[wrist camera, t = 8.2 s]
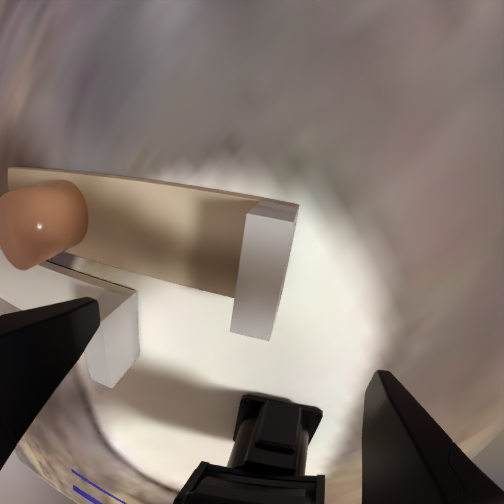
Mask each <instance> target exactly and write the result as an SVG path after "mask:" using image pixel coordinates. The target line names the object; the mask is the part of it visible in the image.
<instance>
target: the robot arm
mask: <svg viewBox="0 0 504 504" xmlns="http://www.w3.org/2000/svg"><path fill="white" fill-rule="evenodd" d="M100 322H101V319H100V310H99V303H98V301H97V300H96V299H93V298H91V297H82V298H78V299H73V300H69V301H64V302H60V303H55V304H50V305H46V306H41V307H37V308H32V309H27V310H23V311H18V312H13V313H9V314H4V315H1V316H0V470H1V469H2V467H3V465H4V464H5V462H6V461H7V459H8V458H9V456H10V455H11V453H12V452H13V450H14V449H15V447H16V446H17V444H18V442H19V441H20V439H21V438H22V436H23V435H24V433H25V432H26V431H27V429H28V428H29V426H30V425H31V423H32V422H33V420H34V419H35V418H36V416H37V415H38V413H39V412H40V411H41V409H42V408H43V406H44V405H45V404H46V402H47V401H48V400H49V398H50V397H51V395H52V394H53V393H54V391H55V390H56V389H57V387H58V386H59V385H60V383H61V382H62V381H63V379H64V378H65V377H66V375H67V374H68V373H69V371H70V370H71V369H72V368H73V366H74V365H75V364H76V362H77V361H78V360H79V358H80V357H81V355H82V354H83V352H84V350H85V349H86V347H87V345H88V344H89V342H90V341H91V339H92V338H93V336H94V334H95V333H96V331H97V330H98V328H99V326H100ZM246 400H248V401H246ZM315 414H318V415H315ZM322 416H323V412H322V410H320V409H316V408H310V407H304V406H299V405H294V404H289V403H284V402H279V401H274V400H269V399H265V398H260V397H256V396H252V395H243V396H242V398H241V401H240V407H239V412H238V417H237V422H236V427H235V432H234V437H233V440H234V442H235V443H234V446H233V449H232V452H231V455H230V458H229V461H228V464H227V467H224V466H219V465H213V464H210V463H209V462H204V461H201V463H200V464H199V466H198V467H197V469H195V470H194V472H193V473H192V475H191V476H190V478H189V479H188V481H187V482H186V484H185V485H184V487H183V488H182V489H181V491H180V492H179V494H178V495H177V497H176V498H175V499H174V502H173V504H324V497H325V475H317V476H306V475H305V467H306V459H307V450H308V445H309V443H310V441H311V439H312V437H313V435H314V433H315V431H316V429H317V427H318V425H319V423H320V421H321V419H322ZM452 442H453V440H452V439H451V438H450V437H449V436H448V435H447V434H446V433H445V431H444V430H443V429H442V428H441V427H440V426H439V425H438V424H437V423H436V421H435V420H434V419H433V418H432V417H431V416H430V415H429V414H428V413H427V411H426V410H425V409H424V408H423V407H422V406H421V405H420V404H419V403H418V402H417V400H416V399H415V398H414V397H413V396H412V395H411V394H410V393H409V392H408V391H407V390H406V388H405V387H404V386H403V385H402V384H401V383H400V382H399V381H398V380H397V379H396V378H395V377H394V375H393V374H392V373H391V372H390V371H385V370H377V371H376V372H375V373H374V375H373V377H372V379H371V381H370V383H369V385H368V387H367V389H366V392H365V400H364V415H363V428H362V504H504V491H503V490H502V489H501V488H500V487H499V486H497V485H496V484H495V483H494V482H493V481H492V480H491V479H490V478H489V477H488V476H487V475H486V474H484V473H483V472H482V471H481V470H480V469H479V468H478V467H477V466H476V465H475V464H474V463H473V462H472V461H471V460H470V459H469V458H468V457H467V456H466V455H465V454H464V453H463V451H462V450H461V449H460V448H459V447H458V446H457V445H456V444H455V443H454V442H453V443H452Z"/></svg>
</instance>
